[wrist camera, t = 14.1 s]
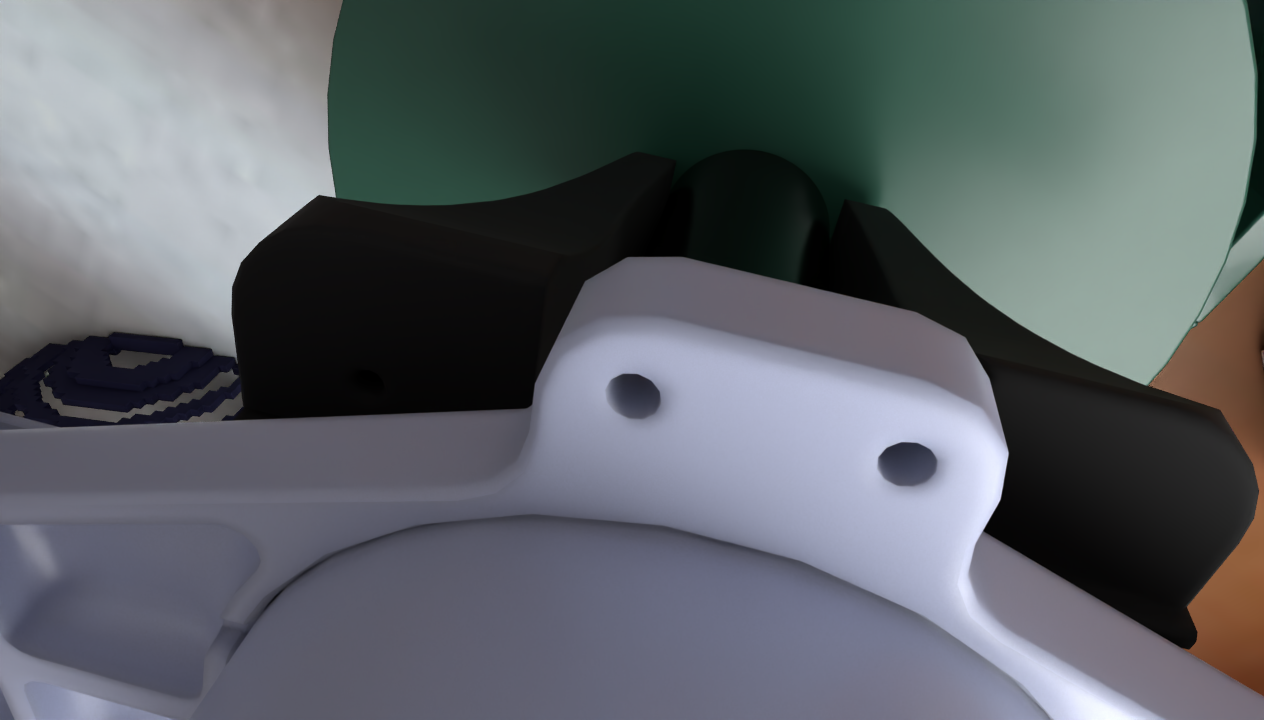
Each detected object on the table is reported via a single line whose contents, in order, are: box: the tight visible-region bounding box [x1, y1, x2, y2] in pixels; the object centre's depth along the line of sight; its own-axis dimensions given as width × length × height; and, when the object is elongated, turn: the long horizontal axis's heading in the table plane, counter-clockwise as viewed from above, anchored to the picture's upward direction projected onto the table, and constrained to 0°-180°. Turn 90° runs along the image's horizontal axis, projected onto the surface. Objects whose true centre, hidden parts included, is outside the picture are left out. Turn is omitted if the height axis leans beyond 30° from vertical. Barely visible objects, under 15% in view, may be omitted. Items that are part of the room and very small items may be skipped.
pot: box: [1191, 0, 1264, 329], centre depth 18 cm, size 13×13×6 cm
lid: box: [327, 0, 1258, 386], centre depth 12 cm, size 14×14×6 cm
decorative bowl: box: [0, 332, 244, 428], centre depth 30 cm, size 20×20×14 cm
